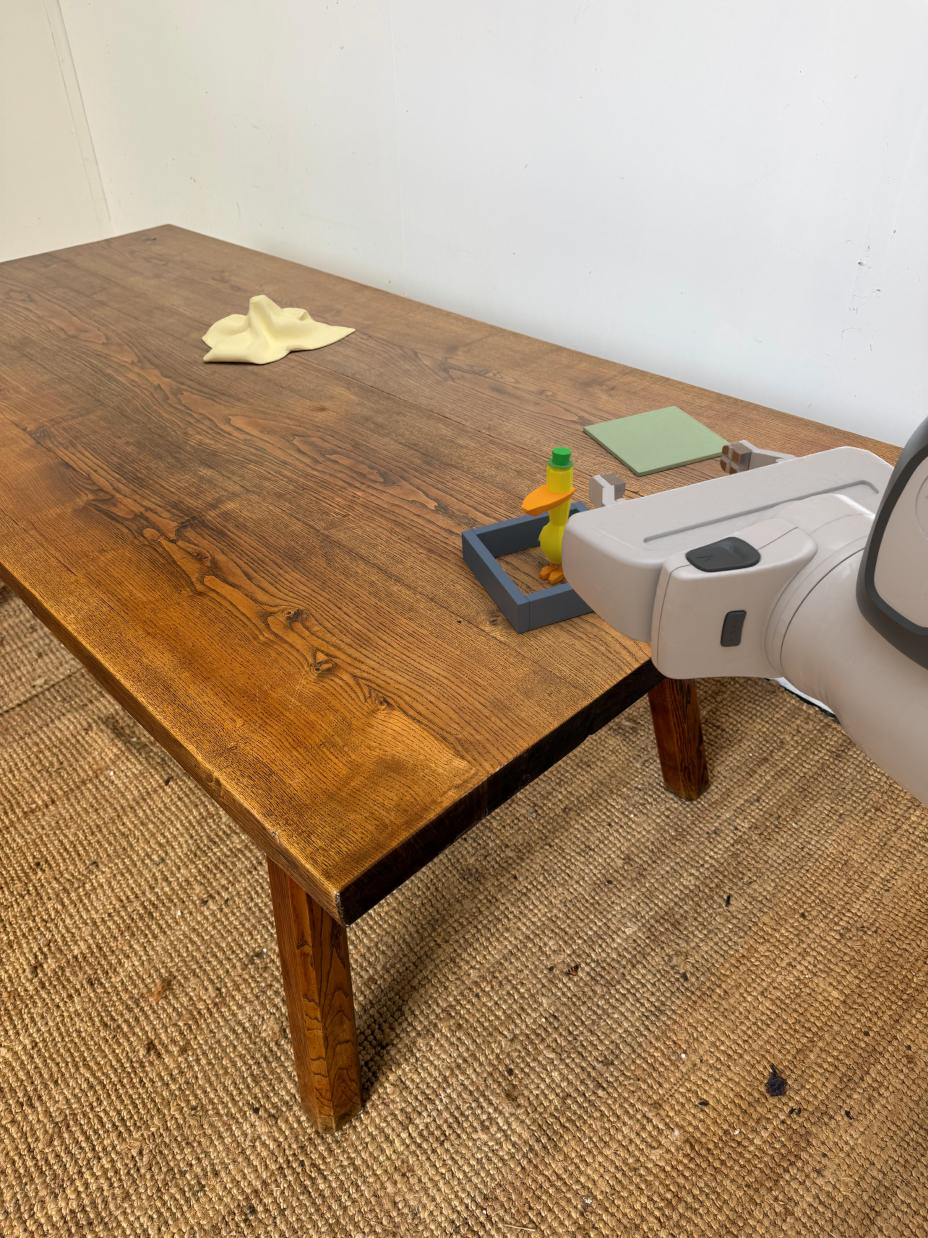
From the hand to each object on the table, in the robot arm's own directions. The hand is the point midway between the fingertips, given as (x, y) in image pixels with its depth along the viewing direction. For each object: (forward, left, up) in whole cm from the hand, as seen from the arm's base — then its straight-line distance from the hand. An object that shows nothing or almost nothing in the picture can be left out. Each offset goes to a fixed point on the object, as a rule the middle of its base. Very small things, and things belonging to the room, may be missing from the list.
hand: (666, 468), depth 55 cm
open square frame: (0, -16, -18) cm, 24 cm away
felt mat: (-22, -34, -18) cm, 44 cm away
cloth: (+9, -87, -18) cm, 89 cm away
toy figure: (0, -16, -19) cm, 24 cm away
